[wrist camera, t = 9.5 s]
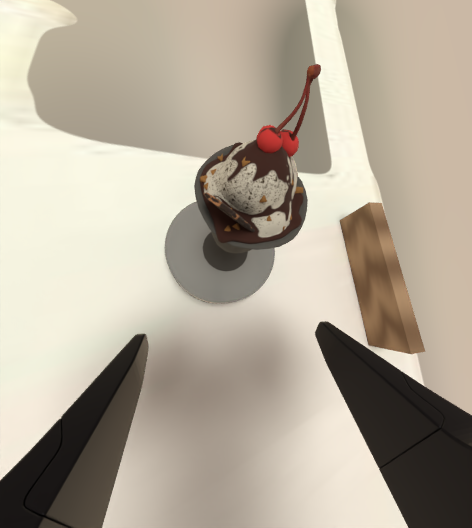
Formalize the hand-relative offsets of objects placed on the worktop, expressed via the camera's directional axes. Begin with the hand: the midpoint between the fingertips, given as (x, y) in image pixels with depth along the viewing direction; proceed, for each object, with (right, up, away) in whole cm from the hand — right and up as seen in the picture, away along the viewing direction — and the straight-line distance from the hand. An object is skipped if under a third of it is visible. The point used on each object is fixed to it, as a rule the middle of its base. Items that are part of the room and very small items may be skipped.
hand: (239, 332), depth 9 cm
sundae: (-1, +5, +11) cm, 12 cm away
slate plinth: (-2, +5, +13) cm, 14 cm away
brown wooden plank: (+18, +2, +17) cm, 25 cm away
